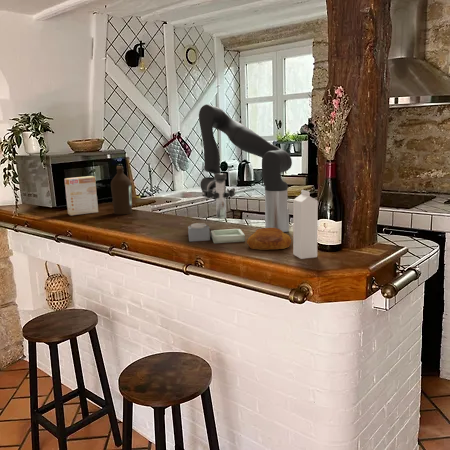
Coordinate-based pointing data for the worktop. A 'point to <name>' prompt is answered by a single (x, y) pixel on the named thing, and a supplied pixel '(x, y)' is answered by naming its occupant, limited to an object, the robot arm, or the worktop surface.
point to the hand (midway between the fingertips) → (221, 195)
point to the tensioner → (198, 232)
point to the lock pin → (220, 195)
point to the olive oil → (121, 193)
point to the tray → (227, 236)
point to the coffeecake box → (81, 195)
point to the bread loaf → (269, 239)
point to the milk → (305, 226)
